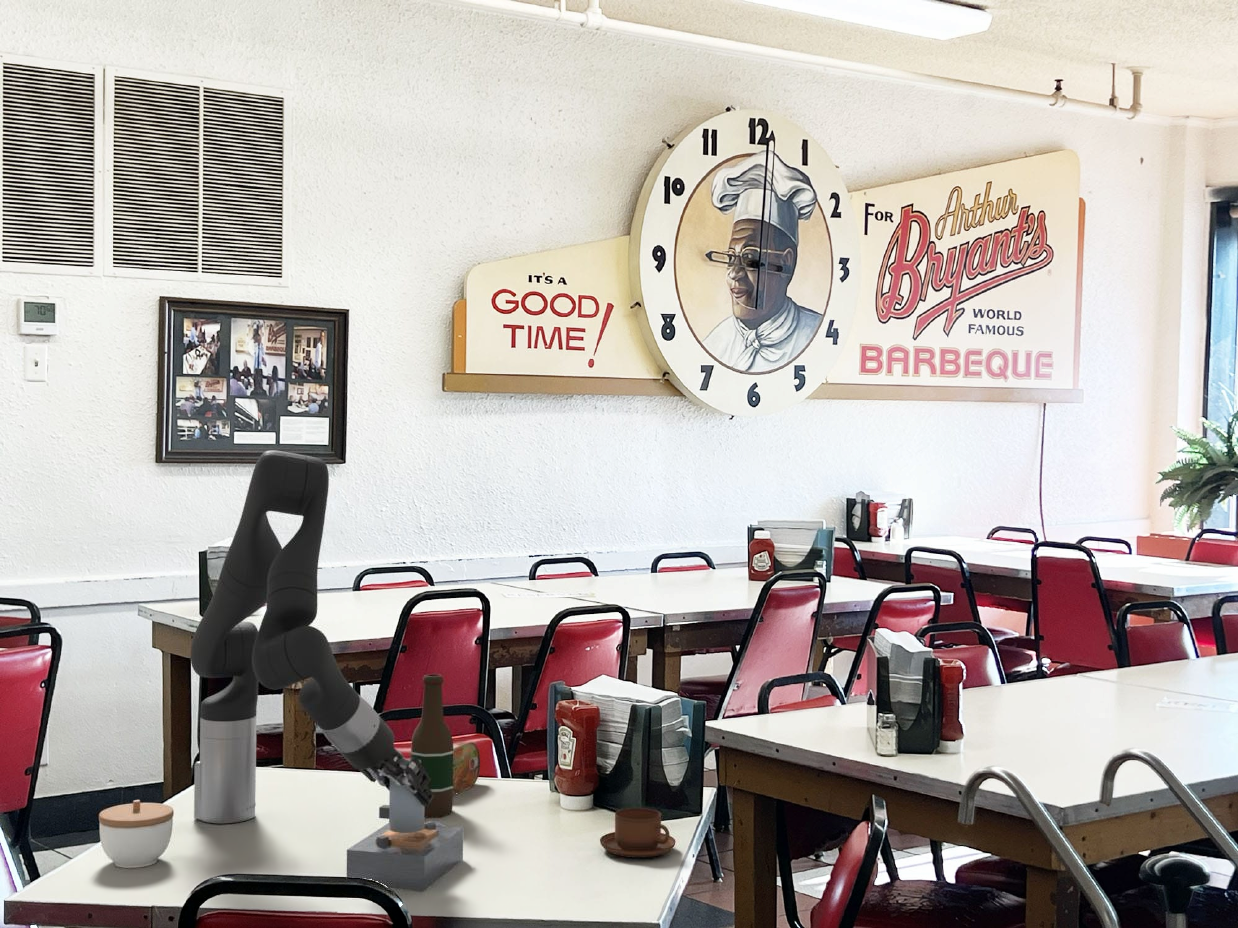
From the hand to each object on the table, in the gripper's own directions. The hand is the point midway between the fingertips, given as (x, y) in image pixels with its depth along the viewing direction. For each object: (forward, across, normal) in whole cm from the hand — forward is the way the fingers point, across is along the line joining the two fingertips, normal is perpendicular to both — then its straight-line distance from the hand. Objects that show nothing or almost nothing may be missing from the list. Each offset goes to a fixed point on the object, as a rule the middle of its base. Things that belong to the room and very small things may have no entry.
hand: (416, 797), depth 207 cm
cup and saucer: (+29, -19, -13) cm, 37 cm away
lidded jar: (-10, +34, +26) cm, 44 cm away
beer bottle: (+25, +22, -10) cm, 35 cm away
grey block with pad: (+8, +1, +7) cm, 11 cm away
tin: (+35, +30, -20) cm, 50 cm away
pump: (+2, 0, +4) cm, 5 cm away
